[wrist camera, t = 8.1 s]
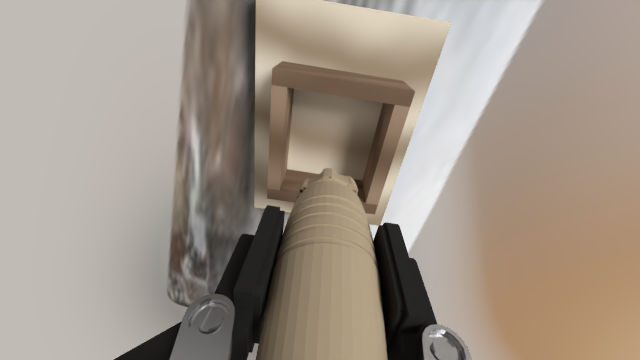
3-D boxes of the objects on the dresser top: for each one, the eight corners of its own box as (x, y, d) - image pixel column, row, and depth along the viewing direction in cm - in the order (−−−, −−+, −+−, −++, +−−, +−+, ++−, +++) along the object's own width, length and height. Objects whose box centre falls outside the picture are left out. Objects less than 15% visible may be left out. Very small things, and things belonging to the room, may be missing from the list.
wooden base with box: (261, -9, 18) (238, -19, 14) (443, 22, 18) (475, 22, 14) (257, 198, 27) (243, 230, 23) (377, 216, 28) (385, 251, 23)
